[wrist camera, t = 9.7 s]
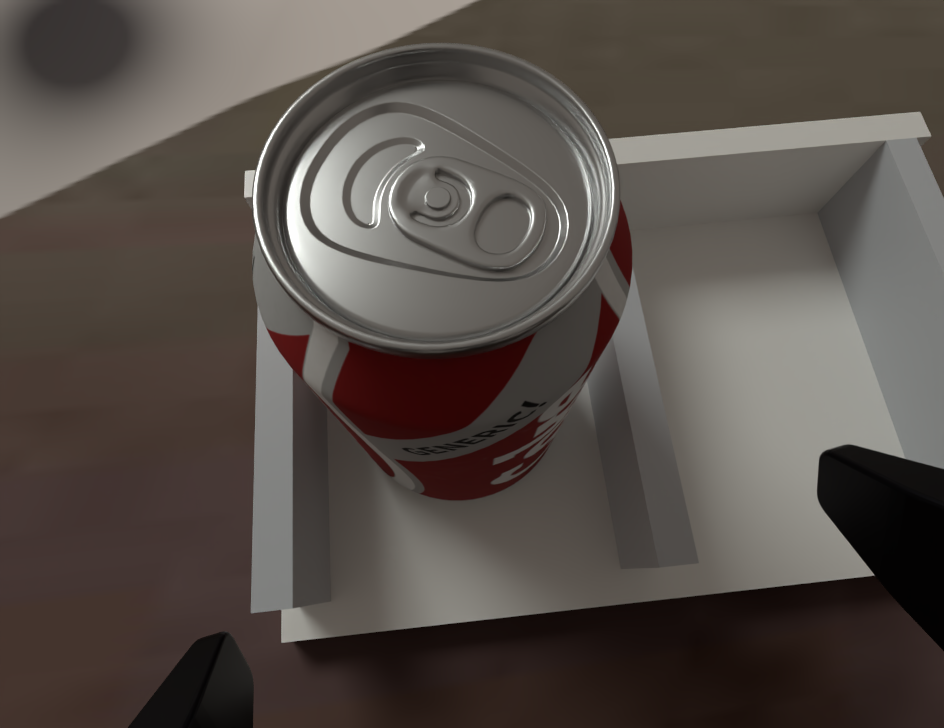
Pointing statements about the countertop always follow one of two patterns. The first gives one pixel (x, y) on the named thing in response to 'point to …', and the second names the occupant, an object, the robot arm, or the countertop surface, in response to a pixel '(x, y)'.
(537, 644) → the countertop surface
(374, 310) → the soda can
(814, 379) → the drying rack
